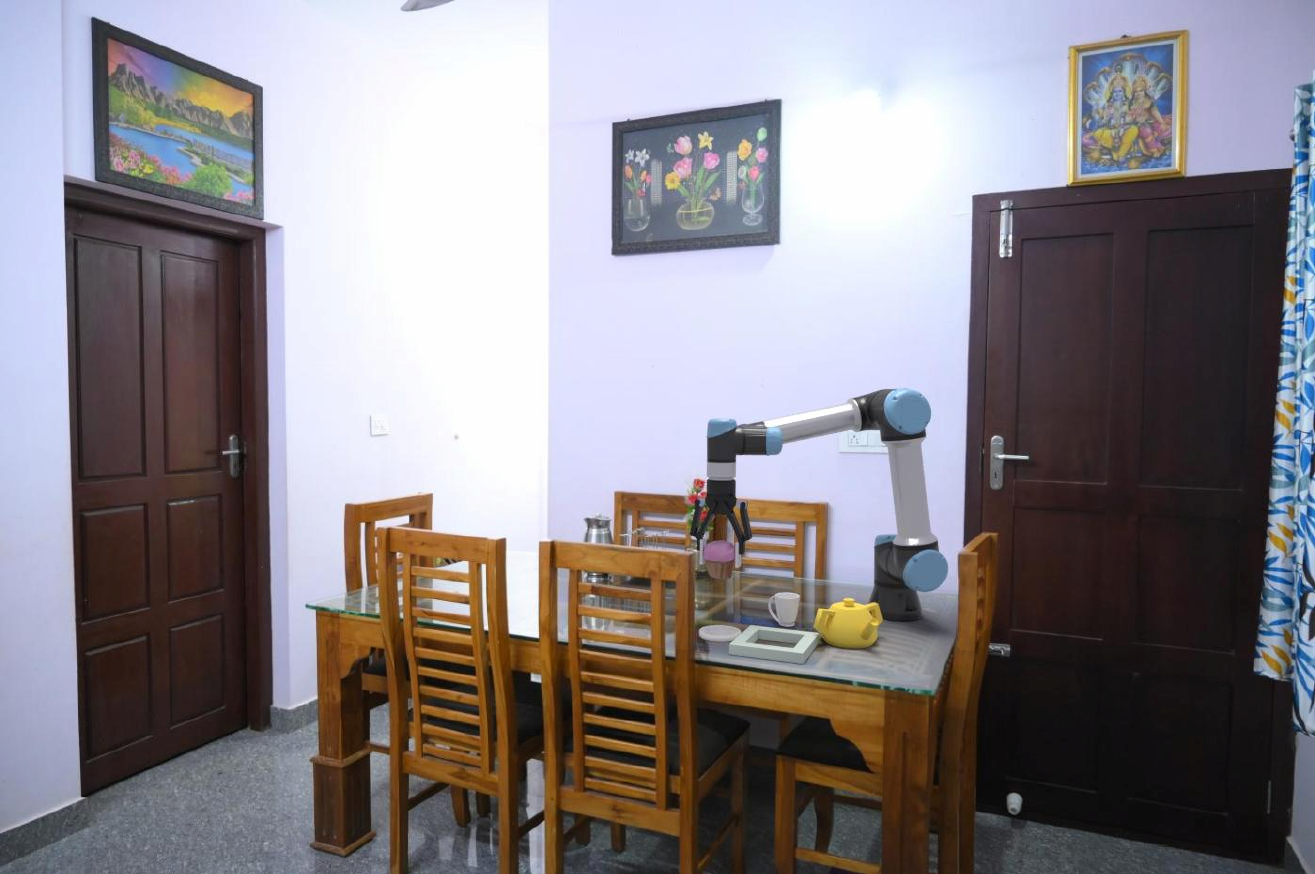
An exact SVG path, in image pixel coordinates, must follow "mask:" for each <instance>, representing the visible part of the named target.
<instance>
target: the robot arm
mask: <svg viewBox="0 0 1315 874" xmlns="http://www.w3.org/2000/svg"><path fill="white" fill-rule="evenodd" d="M929 402H930V401H928V399H927V398H926V396H925V395H923V393H921V392H919V391H918V390H914V389H911V388H908V387H907V388H906V387H903V388H902V387H900V388H885V389H884V388H882V389H880V390H876V391H872V392H870V393H867V394H864V395H860V396H856V397H851V398H849V399H847V400H846V402H844V403H841V404H836V405H831V406H825V407H822V408H817V409H812V410H808V411H803V412H799V413H795V414H794V413H793V414H790V415H789V414H788V415H784V416H779V417H775V418H770V419H766V420H761V421H756V422H751V423H740V424H737V420H736V419H735V418H711V419H709V420H708V422H707V429H706V430H707V432H706V477H707V478H708V479H707V480H706V497H705V498H701V497H699V498H696V499H694V506H695V507H694V508H695V509H694V512H693V517H692V521H691V526H690V529H689V536H690V537H694V538H695V540H696V551H697V552H699V565H704V564H706V559H704V557H703V554H704V549H705V547H706V546H707V538H706V537H705V536H704V535H705V534H706V532H707V530H708V528H709V526H710V525H711V522H712V520H713V518H714V516H715V515H722V516H726V518H727V519H728V520H729V523H730V525H731V528H732V530H733V532H734V534H735V536H736V538H737V540H738V541H735V543H734V544H735V545H734V547H735V560H734V565H735V567H734V568H735V569H739V568H740V567H741V566H742V555H745V552H746V541H750V540H751V539H752V538H753V534H752V533H753V532H752V528H751V523H750V519H749V514H748V513H749V512H748V506H749V505H748V503H749V502H748V501H747V500H738V498H737V494H736V493H737V490H736V489H737V487H736V486H737V481H736V479H734V478H736V476H737V456H767V457H769V456H778V455H780V454H781V452H782V450H783V446H784V445H787V444H789V443H791V444H792V443H796V442H799V441H805V440H810V439H814V438H818V437H819V438H820V437H823V436H828V435H833V434H837V433H842V432H846V431H847V432H848V431H853V432H855V433H859V432H865V431H879V434H880V435H879V436H880V442H881V443H882V444H883V445H884V446H886V447H887V452H888V462H889V470H890V479H891V486H892V496H893V505H894V513H895V521H896V529H897V530H896V531H897V533H895V534H893V533H890V534H889V533H888V534H886V533H885V534H878V535H877V536H876V537H875V539H874V545H873V549H874V551H873V552H874V553H873V554H874V555H873V556H874V557H873V561H874V562H873V566H874V567H873V572H874V573H873V588H872V590H871V593H870V597H869V600H868V602H867V604H870V603H873V602H875V603H877V604H879V608H880V611H881V615H882V618H883V620H887V621H894V622H896V621H897V622H908V621H916V620H919V619H921V618H923V607H922V603H921V600H920V597H919V594H918V592H920V593H921V592H922V593H930V592H933V591H935V590H937V589H938V588H940V587H941V586H942V585H943V583H944V582H945V581H946V579H947V577H948V574H949V563H948V561H947V559H946V557H945V556H944V555H943V554H942V553H941V552H940V547H939V539H938V537H937V536H936V535H935V534H933V532H932V530H931V521H930V512H929V504H928V503H929V501H928V494H927V486H926V485H927V484H926V476H925V475H926V474H925V467H924V460H923V449H922V443H923V442H924V441H925V439H927V430H926V428H927V426H928V424H930V421H931V419H932V418H931V417H932V408H931V404H930V403H929ZM705 504H706V506H707V507H708V510H707V512H706V516H705V518H704V519H703V522H702V523H701V525H700V521H701V518H702V517H701V516H702V512H703V509H704V508H703V507H704V506H705ZM736 506H737V508H738V510H739V515H740V521H741V524H742V527H741V524H740V523H739V520H738V518H737V515H736V512H735V510H734V508H735V507H736ZM699 525H700V528H699ZM742 529H743V530H742ZM869 612H870V614H871V615H872V613H871V611H869Z"/></svg>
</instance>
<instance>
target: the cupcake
mask: <svg viewBox="0 0 1315 874" xmlns="http://www.w3.org/2000/svg"><path fill="white" fill-rule="evenodd" d="M703 557H704V559H706V563H705V564H706V565H705V566H706V570H707V572H708V574H709V576H710V577H711V578H712V579H713V578H714V579H716V580H719V581H720V580H721V581H723V580H729V579H731V578H732V576H733V571H734V565H735V545H734V544H733V542H730V541H725V540H723V539H720V540H714V541H711V542H709V543H706V547H705V549H704V554H703Z"/></svg>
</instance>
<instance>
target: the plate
mask: <svg viewBox="0 0 1315 874" xmlns="http://www.w3.org/2000/svg"><path fill="white" fill-rule="evenodd" d="M741 633H742V630H741V629H740V628H739V627H736V626H731V625H724V624H714V625H706V626H702V627H700V628H699V629H698V637H699V638H701V639H703V640H706V641H710V642H716V643H717V642H718V643H719V642H720V643H723V642H724V643H727V642H732V641H733V640H734V639H735V638H737V637H738V636H739V635H740V634H741Z"/></svg>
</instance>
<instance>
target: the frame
mask: <svg viewBox="0 0 1315 874" xmlns="http://www.w3.org/2000/svg"><path fill="white" fill-rule="evenodd" d="M758 640H764V641H771V642H781V643H788V644H795V646H794V647H784V646H780V645H779V646H778V645H769V644H762V643H756V642H757V641H758ZM819 644H820V632H812V631H804V630H796V629H787V628H786V629H785V628H778V627H770V626H761V625H752V624H750V625H749V626H747V628H746V629H744V630H743V631H741V634H740V635H739V636H738V637H737V638H735V639H734V640H733V641H730V642H729V644H728V655H731V656H737V657H738V656H739V657H746V658H754V659H761V660H767V661H768V660H770V661H777V662H782V663H783V662H785V663H792V664H799V665H804V663H805V662H806V660H808V658H809V657H810V656H811V654H812V653H813V652H814V651H815V649H816V648H817V646H818V645H819Z"/></svg>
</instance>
